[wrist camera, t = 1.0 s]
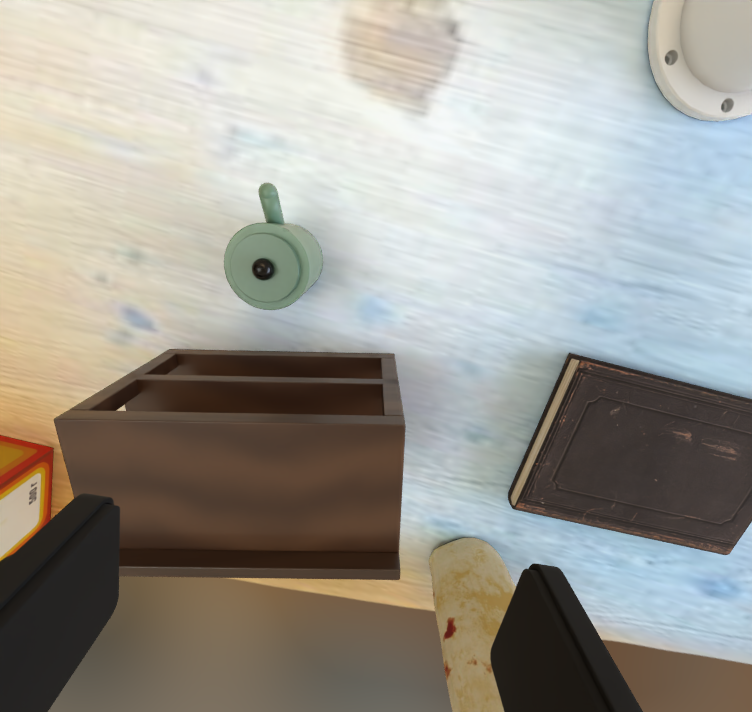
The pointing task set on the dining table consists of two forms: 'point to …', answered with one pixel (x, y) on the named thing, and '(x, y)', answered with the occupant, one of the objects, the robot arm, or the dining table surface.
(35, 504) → the baking soda box
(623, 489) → the hardcover book
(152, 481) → the stand
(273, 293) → the kettle
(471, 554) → the food model
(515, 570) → the dining table surface
